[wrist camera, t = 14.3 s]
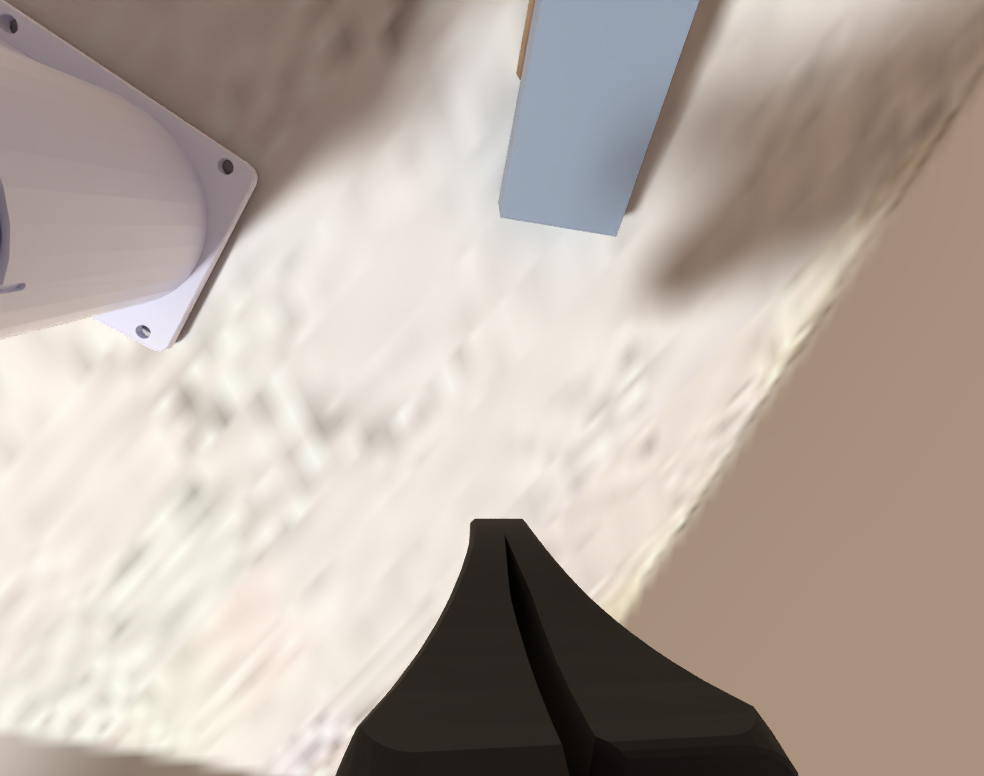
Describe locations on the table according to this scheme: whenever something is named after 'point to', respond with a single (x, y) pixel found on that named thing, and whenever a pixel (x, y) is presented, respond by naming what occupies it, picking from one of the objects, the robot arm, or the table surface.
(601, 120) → the domino
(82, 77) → the robot arm
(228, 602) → the table surface
